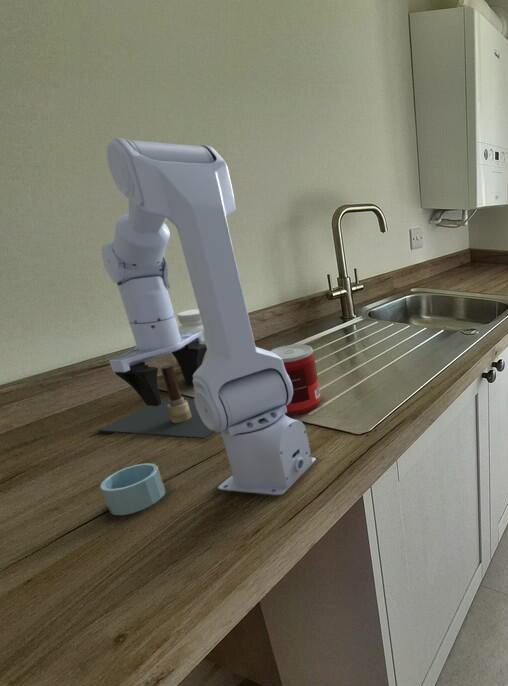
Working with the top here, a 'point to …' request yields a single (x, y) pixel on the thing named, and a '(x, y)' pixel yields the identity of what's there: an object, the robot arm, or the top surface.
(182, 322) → the pill bottle
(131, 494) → the bowl
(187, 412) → the brush
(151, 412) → the mat
